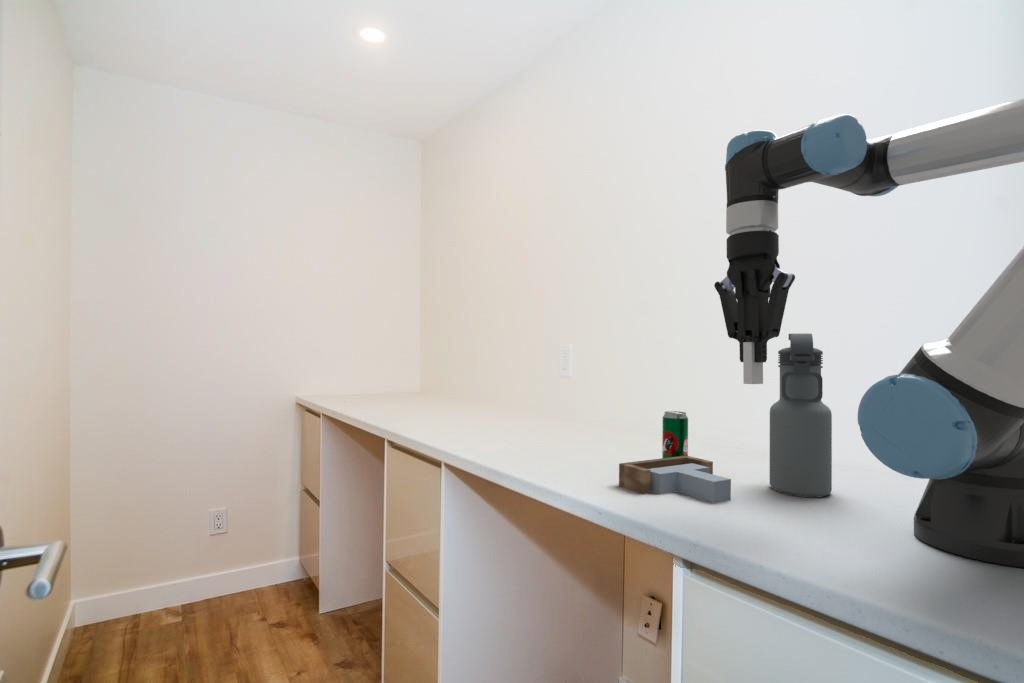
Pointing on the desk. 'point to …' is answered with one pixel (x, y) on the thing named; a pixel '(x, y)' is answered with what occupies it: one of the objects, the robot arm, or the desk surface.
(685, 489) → the t block
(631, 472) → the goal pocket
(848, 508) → the desk surface
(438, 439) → the desk surface
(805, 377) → the water bottle
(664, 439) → the soda can
